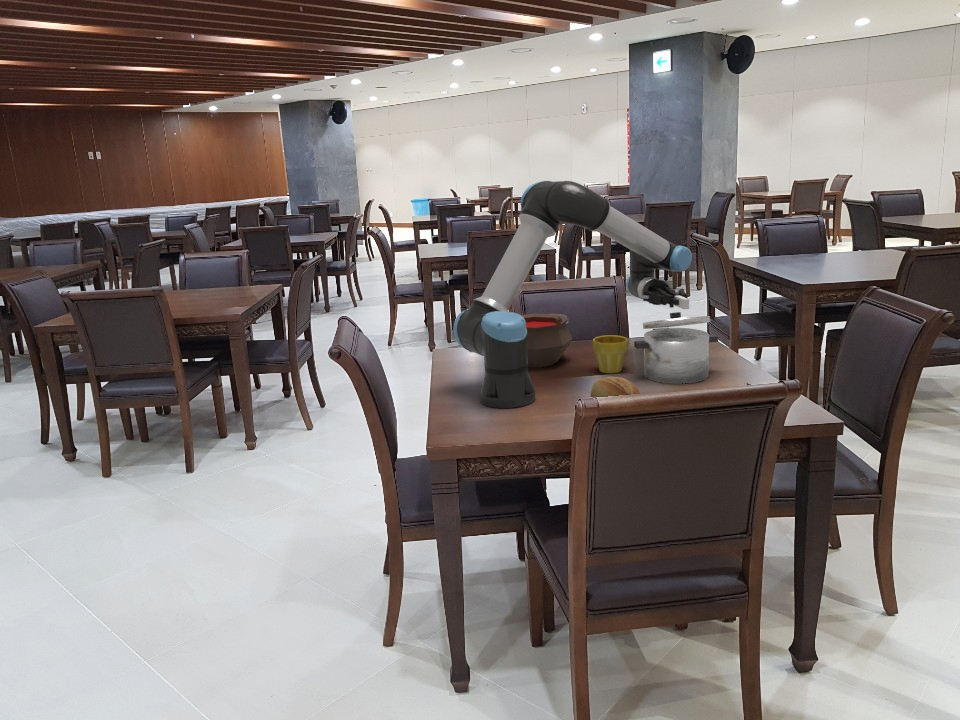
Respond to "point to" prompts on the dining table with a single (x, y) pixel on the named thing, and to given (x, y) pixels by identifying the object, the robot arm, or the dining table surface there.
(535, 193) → the robot arm
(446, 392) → the dining table surface
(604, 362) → the plant pot
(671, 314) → the cooker lid
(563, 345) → the brown clay bowl
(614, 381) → the bread roll
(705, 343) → the pressure cooker
